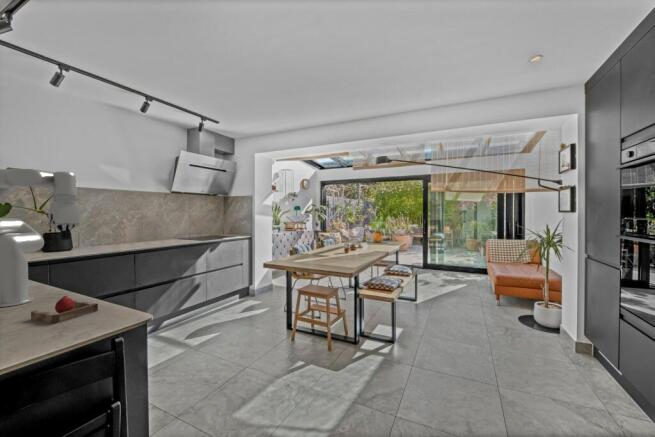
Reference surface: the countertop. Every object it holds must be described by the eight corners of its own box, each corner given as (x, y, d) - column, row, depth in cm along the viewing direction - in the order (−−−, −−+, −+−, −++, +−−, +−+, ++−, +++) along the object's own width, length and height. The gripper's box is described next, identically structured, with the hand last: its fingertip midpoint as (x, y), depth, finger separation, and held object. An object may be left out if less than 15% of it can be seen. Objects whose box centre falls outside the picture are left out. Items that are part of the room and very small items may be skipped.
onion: (61, 318, 112) (60, 298, 112) (51, 316, 114) (51, 296, 114) (78, 313, 118) (77, 294, 118) (68, 311, 120) (68, 292, 119)
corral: (31, 319, 111) (30, 311, 111) (75, 307, 125) (75, 300, 125) (54, 323, 107) (54, 315, 107) (97, 310, 121) (97, 303, 121)
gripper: (78, 200, 139) (78, 237, 139) (38, 198, 125) (39, 240, 125) (88, 199, 137) (89, 238, 137) (50, 198, 122) (50, 241, 123)
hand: (65, 239), depth 131 cm, fingers closed
